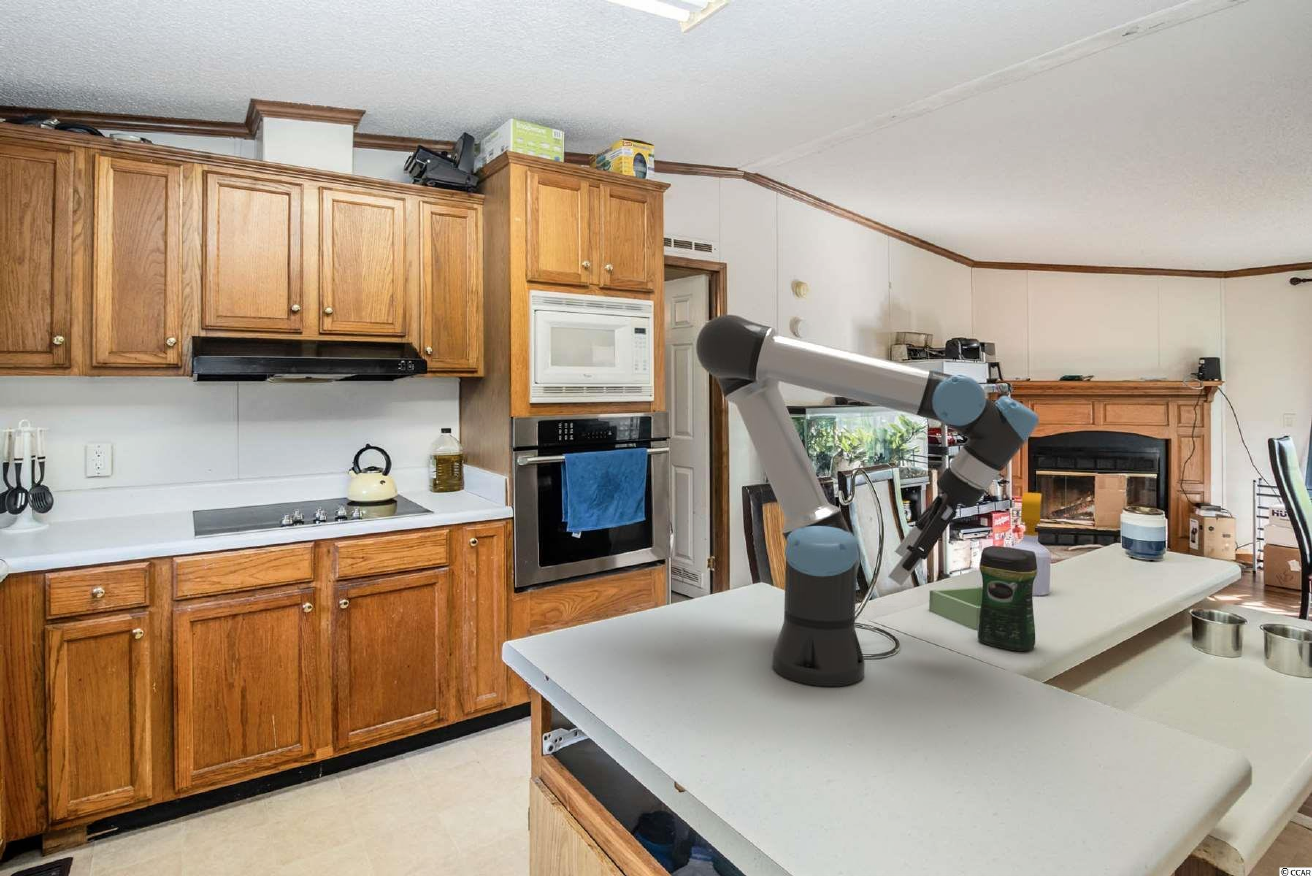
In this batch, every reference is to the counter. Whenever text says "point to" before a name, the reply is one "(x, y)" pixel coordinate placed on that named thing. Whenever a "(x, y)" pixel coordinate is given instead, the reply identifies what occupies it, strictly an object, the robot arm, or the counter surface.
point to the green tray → (958, 604)
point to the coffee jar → (1007, 598)
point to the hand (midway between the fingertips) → (897, 567)
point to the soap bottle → (1035, 542)
